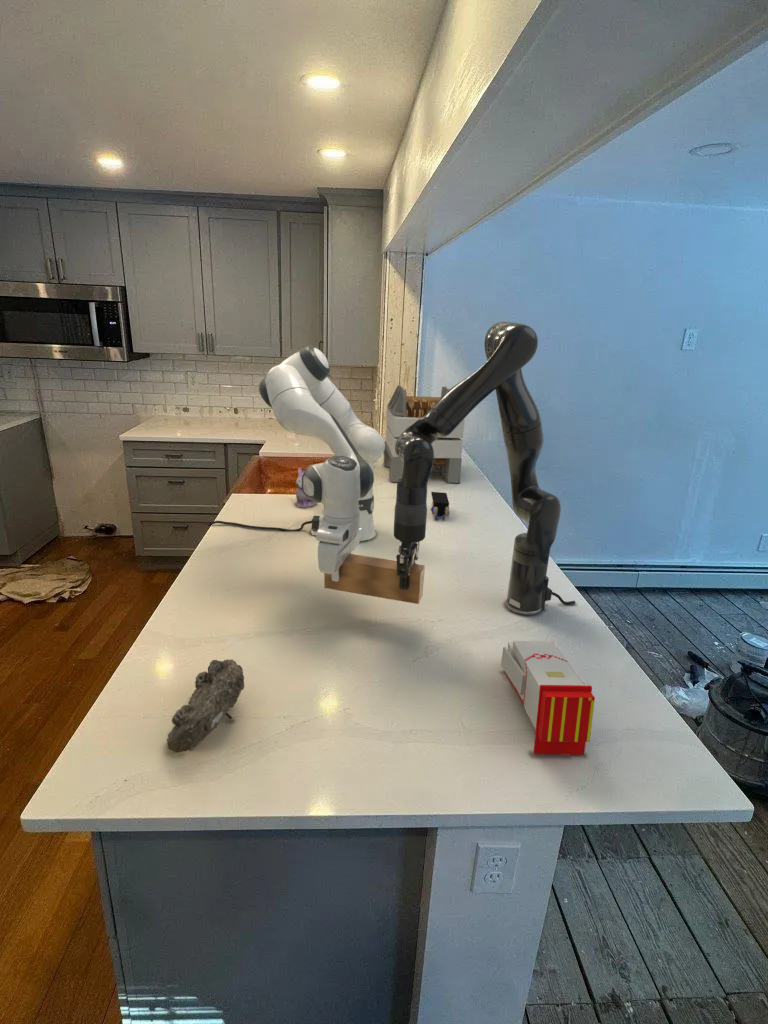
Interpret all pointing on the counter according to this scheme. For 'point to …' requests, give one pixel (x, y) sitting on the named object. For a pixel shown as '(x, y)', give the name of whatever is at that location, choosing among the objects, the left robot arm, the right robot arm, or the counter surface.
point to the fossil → (206, 705)
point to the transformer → (404, 415)
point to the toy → (550, 696)
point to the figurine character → (440, 505)
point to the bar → (377, 579)
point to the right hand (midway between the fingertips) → (406, 583)
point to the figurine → (301, 498)
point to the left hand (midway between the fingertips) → (340, 575)
